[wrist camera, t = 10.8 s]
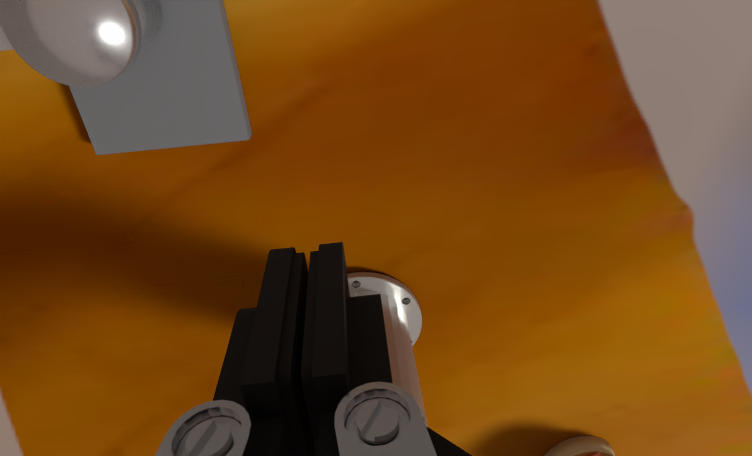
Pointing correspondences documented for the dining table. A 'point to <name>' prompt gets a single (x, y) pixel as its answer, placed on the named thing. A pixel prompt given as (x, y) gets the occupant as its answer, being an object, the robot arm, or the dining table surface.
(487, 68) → the dining table surface
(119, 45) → the lever
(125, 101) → the base plate
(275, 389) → the robot arm
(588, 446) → the cake
